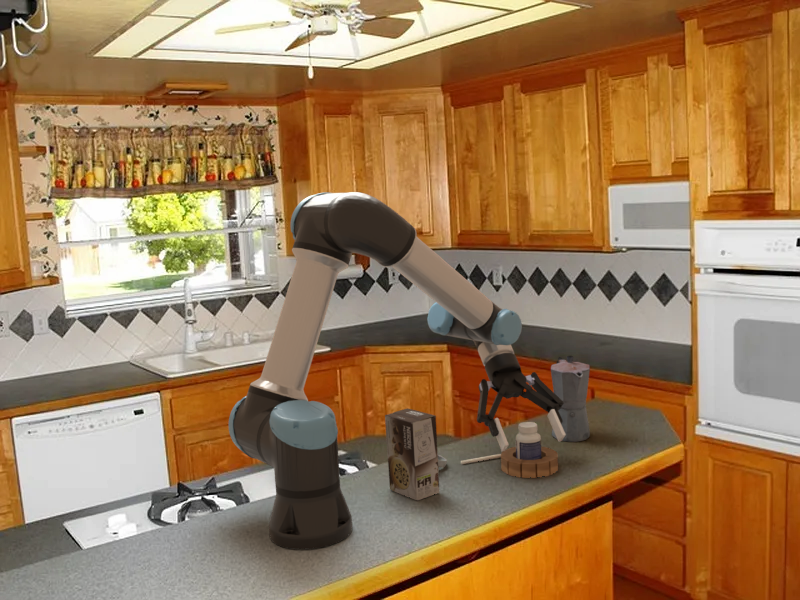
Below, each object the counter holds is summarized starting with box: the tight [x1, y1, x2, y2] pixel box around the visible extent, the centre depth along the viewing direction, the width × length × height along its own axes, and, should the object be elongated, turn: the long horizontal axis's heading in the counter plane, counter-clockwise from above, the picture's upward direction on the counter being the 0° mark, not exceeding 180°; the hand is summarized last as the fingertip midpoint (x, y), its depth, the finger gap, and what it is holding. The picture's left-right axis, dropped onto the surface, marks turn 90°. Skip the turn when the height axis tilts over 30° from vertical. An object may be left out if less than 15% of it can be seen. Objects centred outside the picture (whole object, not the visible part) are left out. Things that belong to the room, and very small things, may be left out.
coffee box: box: [384, 408, 440, 501], centre depth 168 cm, size 9×6×16 cm
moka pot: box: [550, 354, 591, 443], centre depth 197 cm, size 10×15×20 cm, turn 14°
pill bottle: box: [515, 421, 542, 460], centre depth 178 cm, size 5×5×10 cm
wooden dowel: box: [460, 453, 501, 465], centre depth 186 cm, size 16×1×1 cm, turn 110°
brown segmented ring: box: [500, 445, 559, 479], centre depth 178 cm, size 12×12×3 cm
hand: (534, 443), depth 176 cm, fingers open, 13 cm apart
